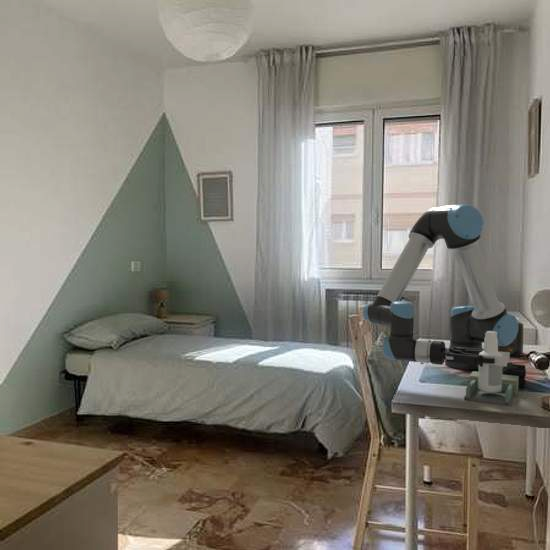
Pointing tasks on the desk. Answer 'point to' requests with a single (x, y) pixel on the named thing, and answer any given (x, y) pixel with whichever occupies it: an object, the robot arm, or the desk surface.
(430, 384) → the desk surface
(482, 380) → the spray bottle
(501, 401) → the chute bracket
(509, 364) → the end cap
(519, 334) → the jar
